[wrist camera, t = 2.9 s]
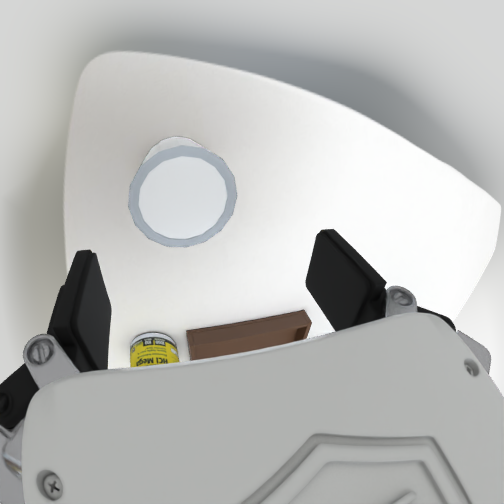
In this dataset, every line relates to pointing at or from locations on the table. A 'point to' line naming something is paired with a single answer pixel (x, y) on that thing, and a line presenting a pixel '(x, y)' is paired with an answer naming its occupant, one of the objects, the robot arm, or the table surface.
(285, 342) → the tray
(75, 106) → the table surface
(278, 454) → the robot arm
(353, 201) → the table surface
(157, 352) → the pill bottle
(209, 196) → the white cylinder
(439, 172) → the table surface
